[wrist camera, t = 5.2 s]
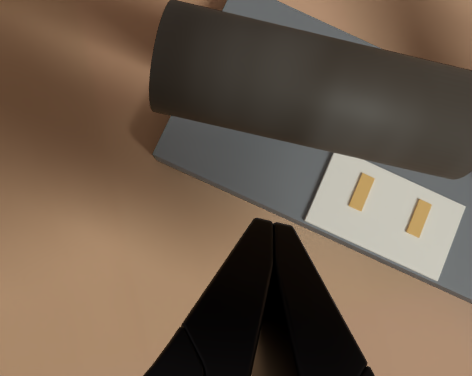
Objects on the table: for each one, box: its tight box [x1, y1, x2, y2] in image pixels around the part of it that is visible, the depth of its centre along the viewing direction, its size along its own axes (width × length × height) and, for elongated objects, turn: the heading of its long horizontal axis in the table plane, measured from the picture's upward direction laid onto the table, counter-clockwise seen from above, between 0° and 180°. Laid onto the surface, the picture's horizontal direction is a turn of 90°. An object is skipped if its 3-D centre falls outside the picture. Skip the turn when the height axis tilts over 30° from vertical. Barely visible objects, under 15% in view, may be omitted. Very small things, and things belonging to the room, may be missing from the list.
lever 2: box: [149, 0, 472, 180], centre depth 12 cm, size 2×5×11 cm, turn 77°
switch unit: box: [153, 0, 472, 304], centre depth 19 cm, size 9×21×2 cm, turn 66°
